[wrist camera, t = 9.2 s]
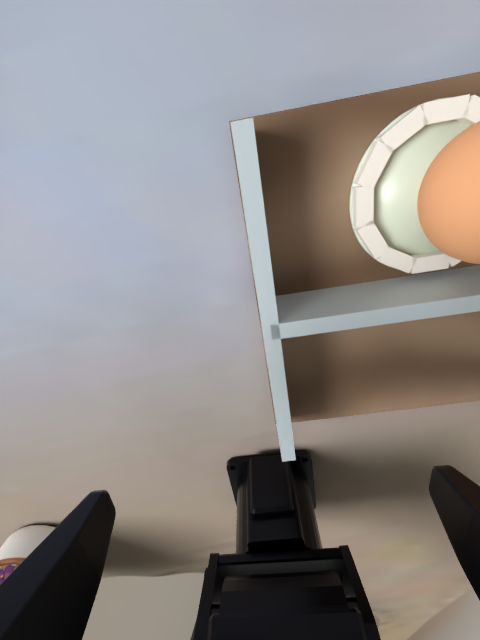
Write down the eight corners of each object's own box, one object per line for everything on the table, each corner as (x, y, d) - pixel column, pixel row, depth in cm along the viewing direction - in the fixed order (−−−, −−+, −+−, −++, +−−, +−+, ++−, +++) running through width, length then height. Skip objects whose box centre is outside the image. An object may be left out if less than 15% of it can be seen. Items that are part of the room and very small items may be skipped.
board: (540, 382, 21) (612, 432, 17) (274, 414, 22) (281, 467, 18) (642, 43, 13) (817, -15, 9) (230, 124, 15) (224, 105, 11)
